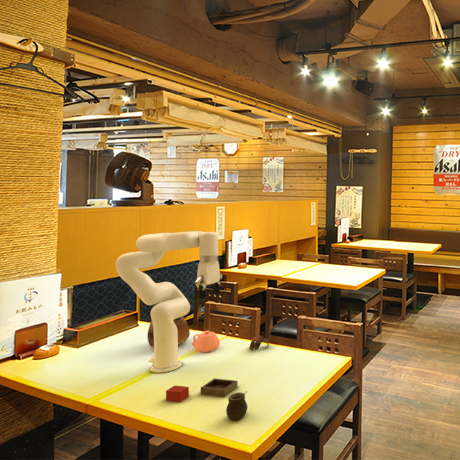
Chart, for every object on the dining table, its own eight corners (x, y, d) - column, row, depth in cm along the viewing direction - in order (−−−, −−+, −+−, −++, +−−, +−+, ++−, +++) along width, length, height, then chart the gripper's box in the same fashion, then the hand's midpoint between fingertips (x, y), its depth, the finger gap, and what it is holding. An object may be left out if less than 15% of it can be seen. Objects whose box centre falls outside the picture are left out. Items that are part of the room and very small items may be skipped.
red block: (166, 400, 145) (165, 390, 144) (174, 394, 149) (174, 385, 149) (180, 402, 143) (180, 392, 143) (189, 396, 148) (188, 386, 148)
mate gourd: (230, 411, 138) (230, 385, 137) (251, 411, 138) (251, 385, 137) (222, 422, 130) (222, 395, 130) (244, 422, 131) (244, 395, 130)
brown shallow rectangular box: (200, 394, 150) (200, 387, 150) (214, 384, 158) (214, 378, 158) (224, 397, 148) (224, 390, 148) (237, 387, 156) (237, 380, 156)
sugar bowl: (212, 354, 190) (212, 335, 190) (185, 353, 191) (185, 334, 190) (224, 345, 203) (223, 327, 202) (199, 345, 203) (198, 327, 202)
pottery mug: (249, 346, 203) (257, 332, 205) (265, 353, 204) (272, 339, 206) (245, 349, 191) (253, 334, 193) (261, 356, 192) (269, 341, 194)
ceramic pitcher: (165, 337, 213) (164, 287, 212) (197, 339, 211) (197, 288, 210) (138, 350, 194) (136, 294, 192) (173, 352, 192) (172, 296, 190)
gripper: (213, 256, 176) (214, 291, 177) (187, 261, 159) (188, 300, 160) (228, 256, 175) (228, 292, 175) (203, 261, 157) (204, 301, 158)
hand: (209, 296), depth 167 cm, fingers open, 9 cm apart
